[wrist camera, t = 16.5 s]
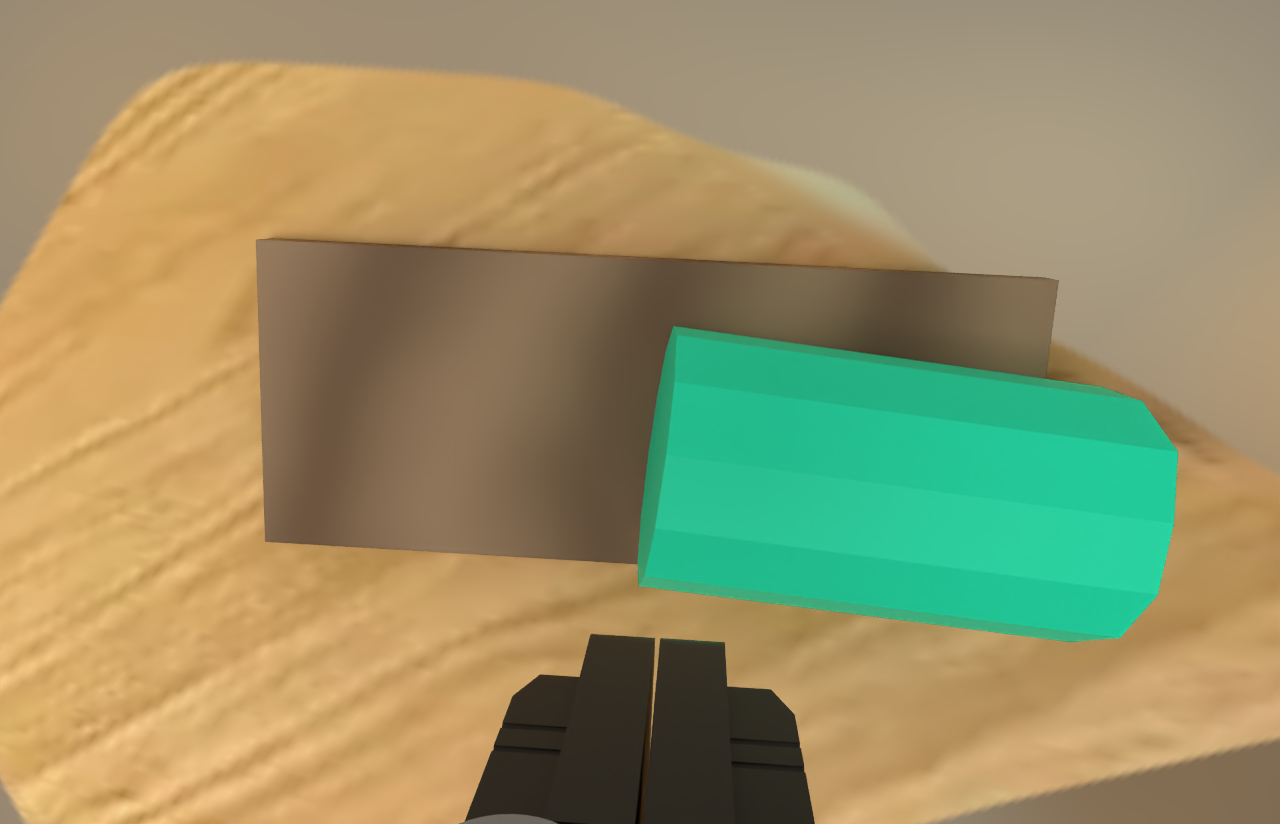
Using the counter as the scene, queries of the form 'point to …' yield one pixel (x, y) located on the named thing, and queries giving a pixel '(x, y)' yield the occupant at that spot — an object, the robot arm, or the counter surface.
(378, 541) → the board
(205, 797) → the counter surface
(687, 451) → the candle
